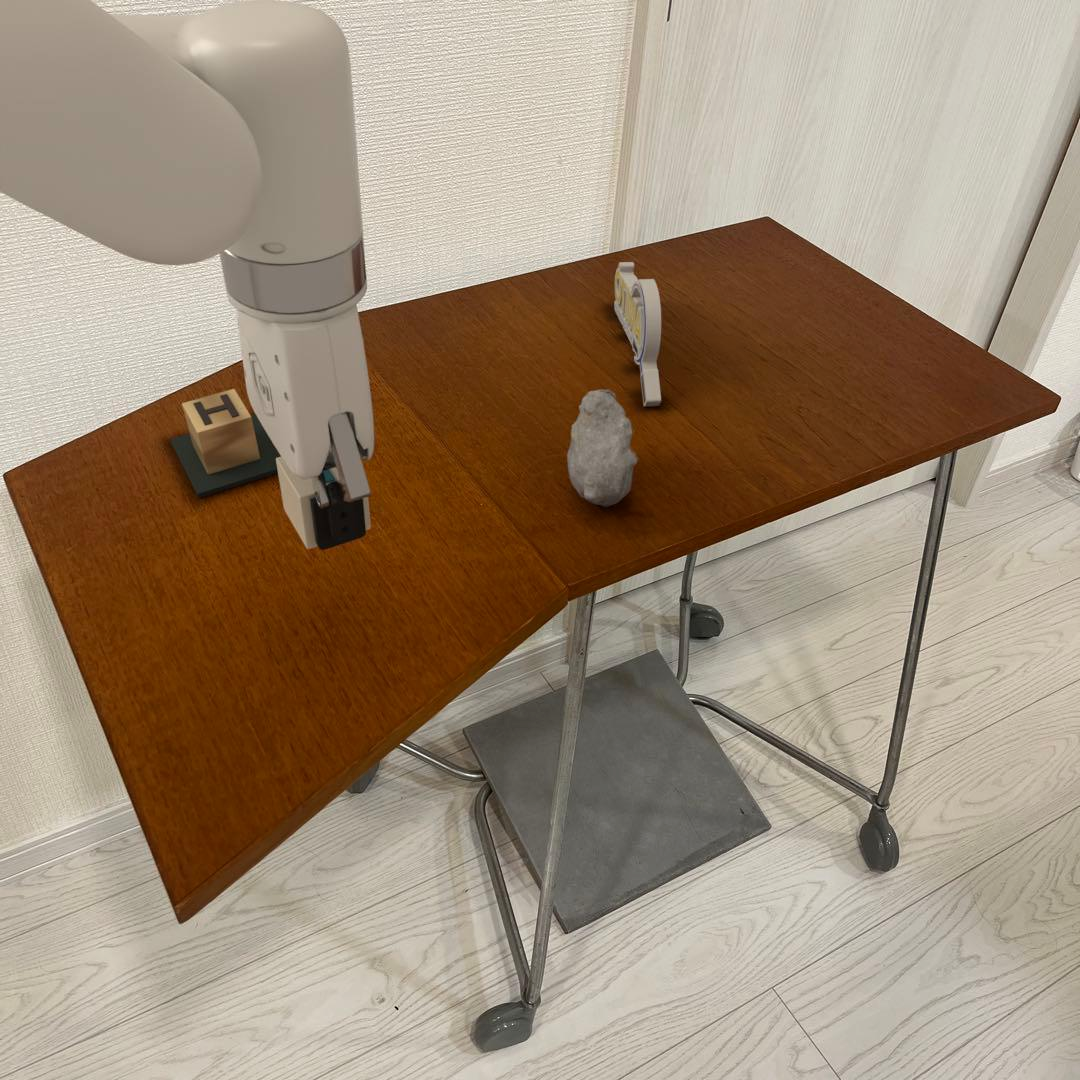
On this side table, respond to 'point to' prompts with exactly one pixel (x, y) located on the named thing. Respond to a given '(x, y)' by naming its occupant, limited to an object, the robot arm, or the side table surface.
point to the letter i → (305, 501)
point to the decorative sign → (640, 325)
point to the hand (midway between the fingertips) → (326, 514)
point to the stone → (601, 450)
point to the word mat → (233, 475)
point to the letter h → (221, 431)
